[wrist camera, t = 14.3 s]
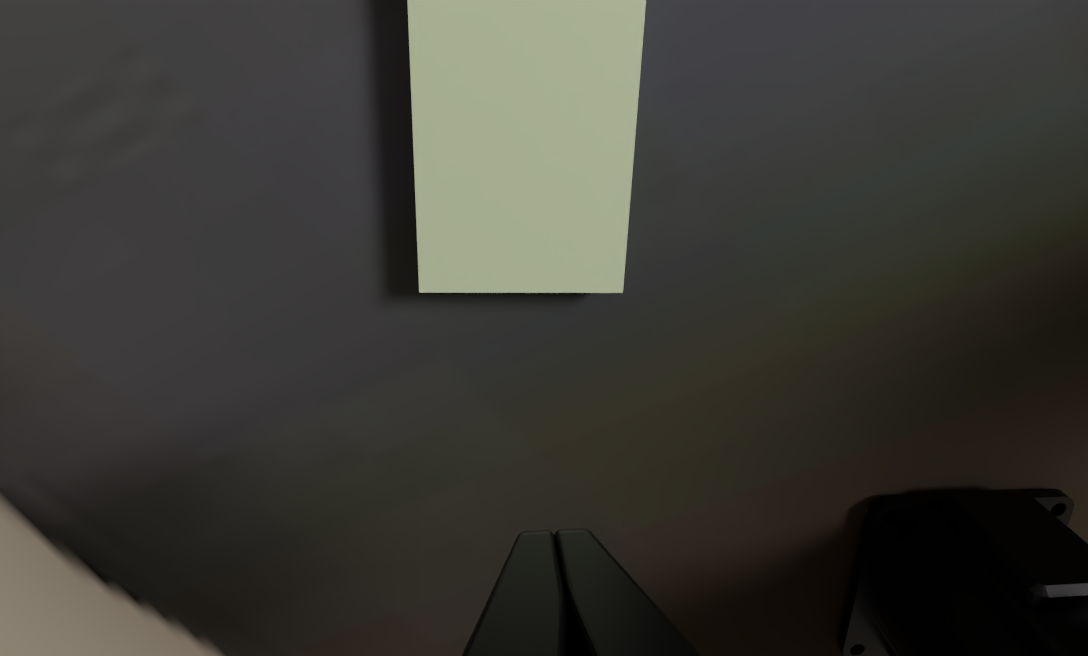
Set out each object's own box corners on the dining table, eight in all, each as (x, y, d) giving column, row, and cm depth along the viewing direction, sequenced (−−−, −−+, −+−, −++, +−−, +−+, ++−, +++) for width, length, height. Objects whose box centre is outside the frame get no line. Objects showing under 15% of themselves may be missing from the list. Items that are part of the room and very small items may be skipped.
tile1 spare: (622, 292, 17) (651, -77, 14) (419, 292, 17) (403, -88, 14) (611, 272, 19) (635, -66, 16) (423, 271, 18) (411, -77, 15)
